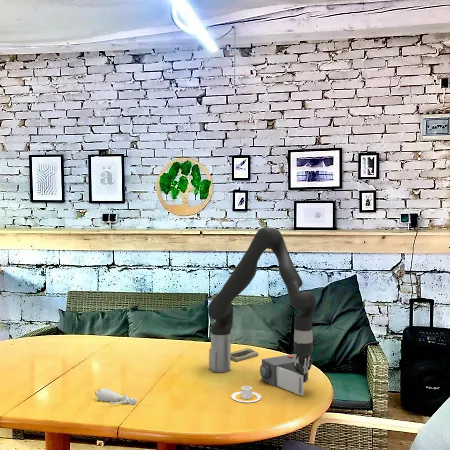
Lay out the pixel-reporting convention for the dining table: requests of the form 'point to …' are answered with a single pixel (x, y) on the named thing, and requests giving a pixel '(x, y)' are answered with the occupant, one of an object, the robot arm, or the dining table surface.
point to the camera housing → (270, 367)
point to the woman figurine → (114, 397)
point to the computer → (242, 355)
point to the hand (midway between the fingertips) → (303, 381)
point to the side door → (289, 380)
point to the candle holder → (246, 394)
